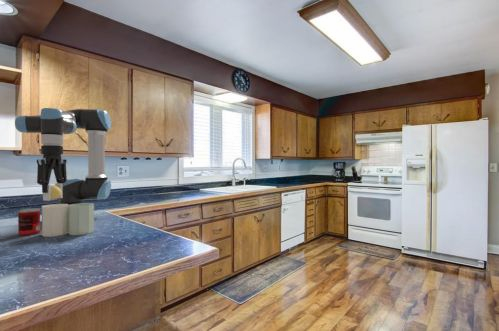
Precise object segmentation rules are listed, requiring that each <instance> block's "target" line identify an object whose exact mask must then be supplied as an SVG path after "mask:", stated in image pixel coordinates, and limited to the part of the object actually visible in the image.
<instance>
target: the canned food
mask: <svg viewBox="0 0 499 331" xmlns="http://www.w3.org/2000/svg"><path fill="white" fill-rule="evenodd" d="M40 209H41V208H35V207H34V208H23V209H19V210H18V211H17V212H18V213H17V214H18V216H17V217H18V218H17V219H18V220H17V221H18V224H17V225H18V227H17V228H18V230H17V232H18V235H19V236H21V237H25V236H26V237H27V236H34V235H38V234H40V232H41V210H40Z"/></svg>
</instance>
